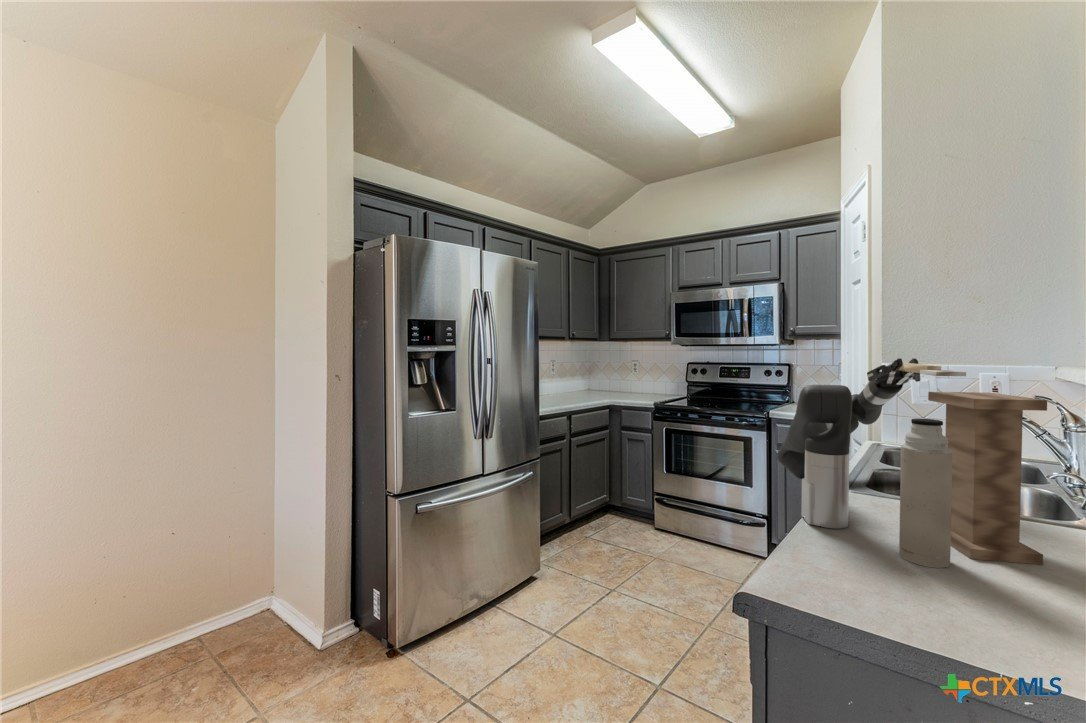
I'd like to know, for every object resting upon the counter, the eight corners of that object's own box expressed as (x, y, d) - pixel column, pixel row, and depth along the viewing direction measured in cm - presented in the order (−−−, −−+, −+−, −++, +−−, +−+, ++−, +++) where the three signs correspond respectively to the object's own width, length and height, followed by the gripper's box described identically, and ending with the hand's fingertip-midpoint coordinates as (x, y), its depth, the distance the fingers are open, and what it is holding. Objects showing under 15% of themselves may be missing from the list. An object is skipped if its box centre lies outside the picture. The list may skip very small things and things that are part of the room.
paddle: (936, 376, 112) (936, 367, 112) (885, 369, 137) (885, 362, 137) (966, 376, 111) (966, 367, 111) (909, 369, 135) (910, 362, 135)
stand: (970, 558, 96) (973, 399, 95) (925, 529, 111) (928, 391, 110) (1042, 564, 93) (1047, 400, 92) (986, 533, 108) (990, 392, 108)
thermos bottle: (890, 549, 100) (892, 416, 99) (931, 551, 99) (933, 416, 98) (916, 567, 92) (918, 422, 91) (960, 568, 91) (963, 422, 90)
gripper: (911, 400, 142) (941, 373, 127) (858, 399, 145) (882, 373, 130) (905, 377, 146) (934, 349, 131) (853, 377, 149) (876, 349, 134)
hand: (908, 361), depth 131 cm, fingers closed on paddle, 3 cm apart
